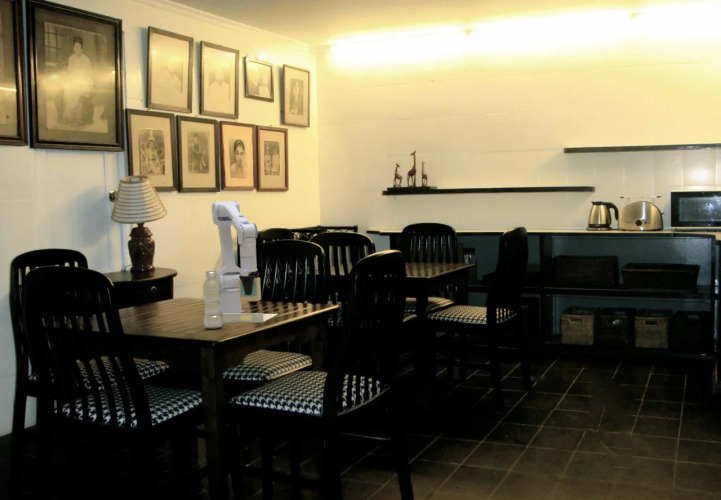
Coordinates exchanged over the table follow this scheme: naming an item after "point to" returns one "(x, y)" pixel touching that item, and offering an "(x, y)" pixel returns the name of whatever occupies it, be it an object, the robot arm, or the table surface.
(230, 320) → the large cream panel
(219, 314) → the plastic bottle
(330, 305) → the table surface
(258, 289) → the kraft carton
